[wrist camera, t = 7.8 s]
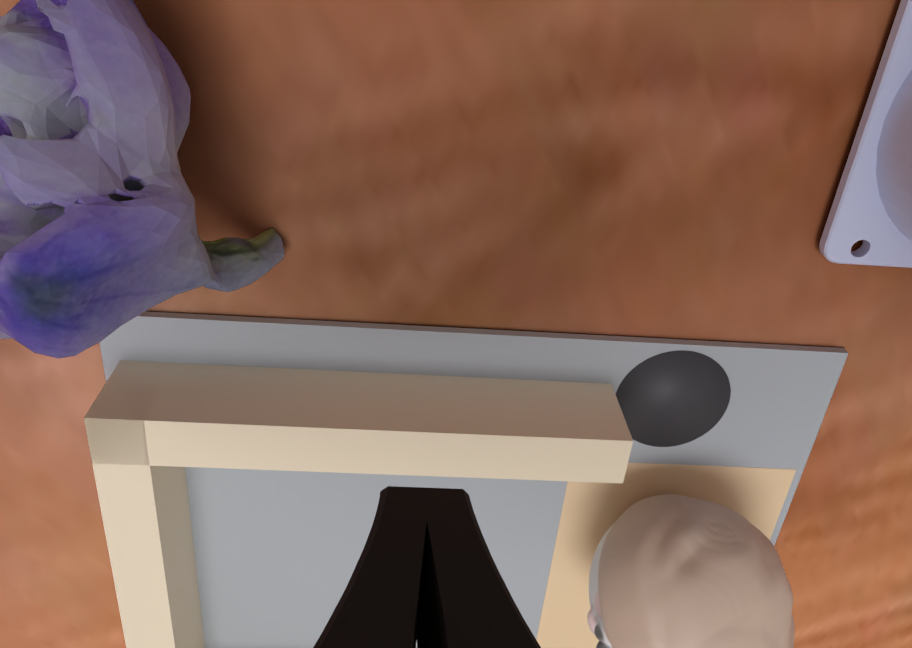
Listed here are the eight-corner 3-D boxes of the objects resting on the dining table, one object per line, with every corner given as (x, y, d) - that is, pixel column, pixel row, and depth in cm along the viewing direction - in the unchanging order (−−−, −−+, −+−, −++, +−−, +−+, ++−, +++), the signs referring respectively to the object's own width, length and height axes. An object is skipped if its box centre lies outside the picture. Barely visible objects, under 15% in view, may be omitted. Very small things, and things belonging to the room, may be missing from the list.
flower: (430, 263, 15) (-233, 185, 9) (274, 427, 21) (-191, 437, 15) (350, -52, 19) (-161, -240, 13) (236, 162, 24) (-149, 94, 19)
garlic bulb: (549, 587, 28) (592, 821, 21) (599, 447, 25) (668, 666, 18) (723, 605, 29) (819, 837, 22) (791, 472, 26) (929, 691, 19)
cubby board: (843, 347, 24) (897, 407, 21) (709, 701, 32) (735, 777, 29) (99, 308, 22) (53, 367, 19) (160, 692, 30) (134, 771, 28)
